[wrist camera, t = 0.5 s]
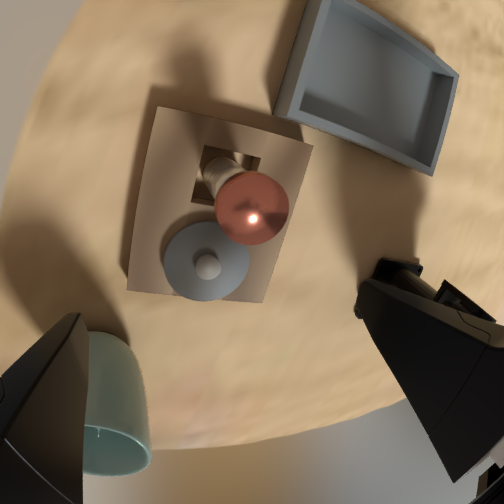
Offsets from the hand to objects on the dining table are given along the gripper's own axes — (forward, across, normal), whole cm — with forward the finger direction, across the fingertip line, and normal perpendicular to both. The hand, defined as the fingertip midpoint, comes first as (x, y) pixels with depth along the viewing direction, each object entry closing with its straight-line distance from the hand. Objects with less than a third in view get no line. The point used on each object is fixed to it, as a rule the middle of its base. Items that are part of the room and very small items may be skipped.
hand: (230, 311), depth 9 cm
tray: (+13, -13, -8) cm, 20 cm away
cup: (+13, +9, +12) cm, 20 cm away
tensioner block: (+13, -1, +1) cm, 13 cm away
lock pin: (+12, -2, -1) cm, 13 cm away
